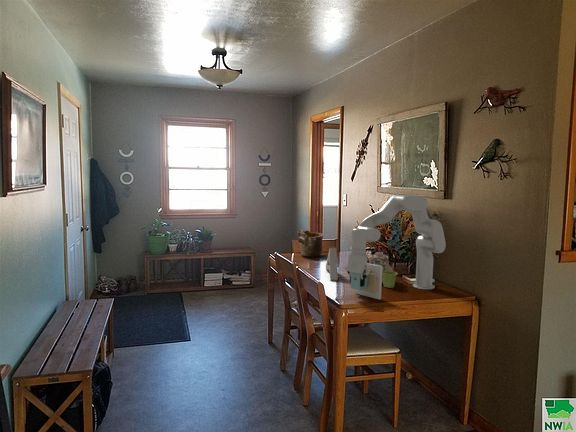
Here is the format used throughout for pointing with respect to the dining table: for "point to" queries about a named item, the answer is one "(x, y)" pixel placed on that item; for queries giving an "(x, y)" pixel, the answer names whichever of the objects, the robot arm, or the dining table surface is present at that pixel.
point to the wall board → (373, 282)
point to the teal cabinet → (358, 281)
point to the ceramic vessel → (310, 243)
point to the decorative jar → (380, 261)
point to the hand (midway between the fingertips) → (356, 284)
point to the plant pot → (389, 278)
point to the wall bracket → (332, 264)
